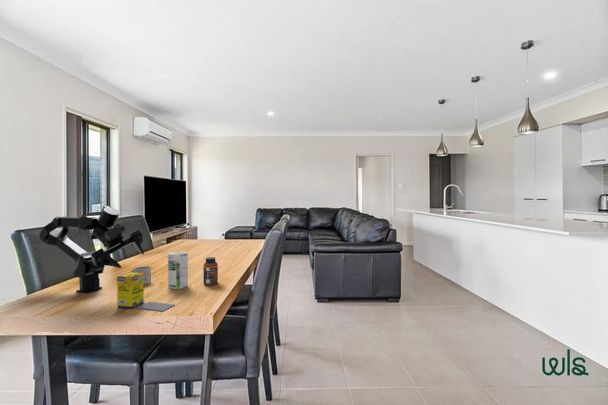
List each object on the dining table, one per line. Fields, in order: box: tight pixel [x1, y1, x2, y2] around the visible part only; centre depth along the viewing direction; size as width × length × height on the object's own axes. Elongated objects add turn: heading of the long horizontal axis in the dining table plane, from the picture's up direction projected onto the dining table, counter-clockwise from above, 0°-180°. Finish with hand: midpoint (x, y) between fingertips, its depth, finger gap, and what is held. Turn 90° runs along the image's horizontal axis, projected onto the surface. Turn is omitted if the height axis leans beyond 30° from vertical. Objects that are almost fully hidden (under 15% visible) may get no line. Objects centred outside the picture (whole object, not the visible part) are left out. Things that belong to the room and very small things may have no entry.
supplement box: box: [116, 272, 145, 310], centre depth 110 cm, size 6×6×11 cm
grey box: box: [131, 265, 152, 286], centre depth 140 cm, size 10×7×7 cm
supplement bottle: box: [202, 256, 219, 286], centre depth 137 cm, size 6×6×11 cm
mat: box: [135, 301, 176, 313], centre depth 109 cm, size 11×6×1 cm, turn 73°
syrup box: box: [167, 251, 189, 290], centre depth 132 cm, size 6×6×14 cm
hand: (132, 260), depth 120 cm, fingers open, 9 cm apart
